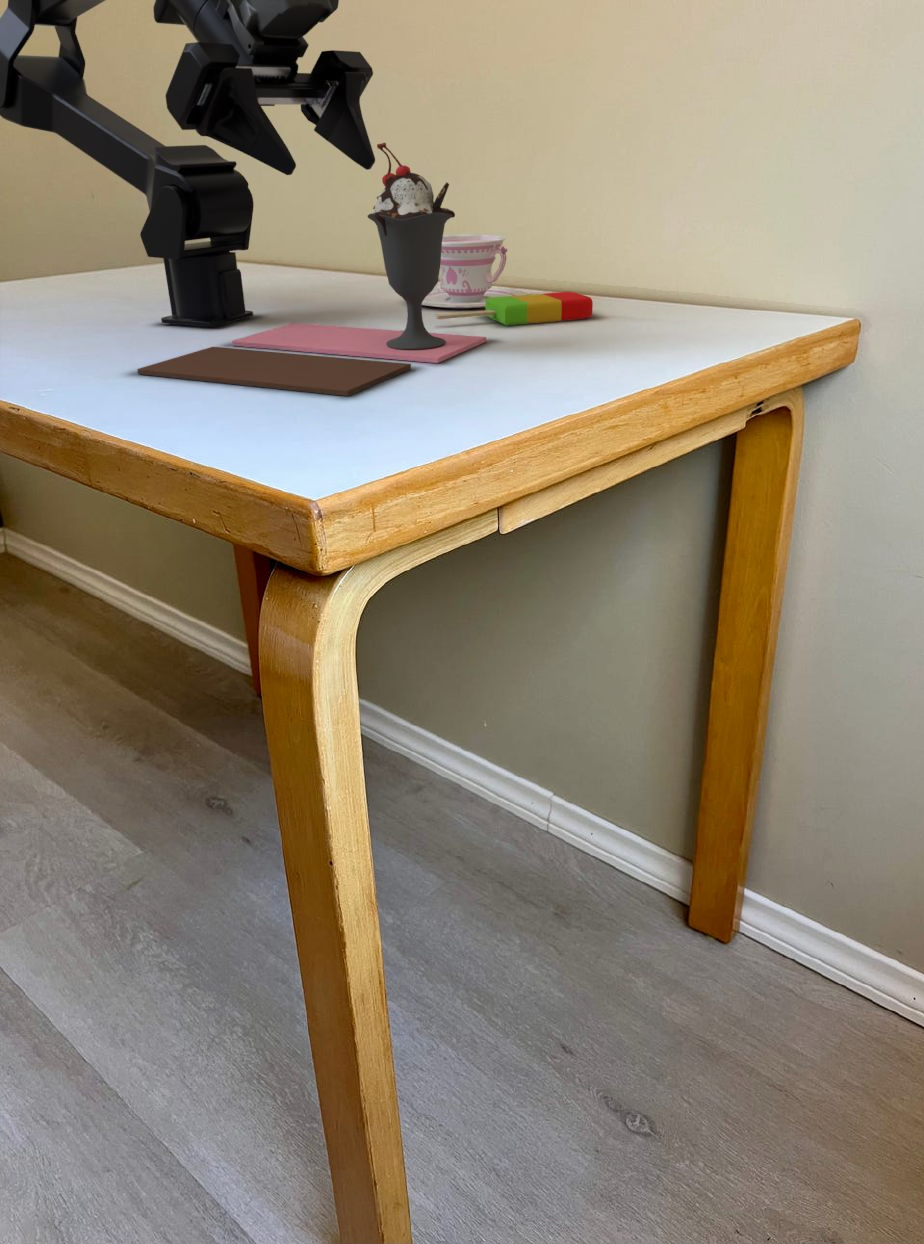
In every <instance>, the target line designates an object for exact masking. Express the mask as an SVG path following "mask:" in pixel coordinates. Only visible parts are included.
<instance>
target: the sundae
mask: <svg viewBox="0 0 924 1244" xmlns="http://www.w3.org/2000/svg"><path fill="white" fill-rule="evenodd" d="M376 147H377V149H378V150H380V151H381V152H383V154H384V155H385V156H386V158H387V160H388V169H387V173H386V174H384V175H383V176H382V178H381V182H382V184H383V186H384V188H383V189H382V190H381V192H380V193H379V194H377V196H376V200H375V203H374V206H373V207H372V209H373V212H372V213H369V214H368V215H367V218H368V219H369V220H371V221H372V222H374V224H375V225H376V227H377V232H378V237H379V241H380V245H381V246H380V247H381V251H382V252H381V253H382V258H383V264H384V269H385V273H386V276H387V281H388V285H389V286H390V287H391V289H392V290H393V291H394V292H395V293H396V294H397V295H398V296H399V297H401V298H402V299H403V300H404V301H405V303H406V310H407V311H406V312H407V318H406V319H407V320H406V325H405V329H404V330H403V331H404V332H403V333H402V335H401V336H399V337H397V338H394V339H391V340H389V341H387V343H386V345H387V346H388V347H390V348H393V349H399V350H425V349H432V348H438V347H441V346H443V345H444V344H445V343H446V341H445V340H444V339H442V338H438V337H434V336H432V335H430V334H429V333H430V332H429V331H428V330H427V328H426V327H425V324H424V320H423V319H424V318H423V305H422V302H423V300H424V299H425V297H426V296H427V295H428V294H429V293H430V292H431V291H432V290H433V289H435V287H436V286H437V285H438V282H439V278H440V277H439V276H440V262H441V249H442V238H443V235H444V232H445V226H446V223H447V221H449V220H450V219H452V218H453V219H454V218H455V217H456V214H455V211H453V210H451V209H449V208H445V207H442V204H443V202H444V199H445V196H446V194H447V192H448V190H449V186H450V183H449V182H445V184H444V185H443V186H442V188H441V189H440V190H439V192H438V194H437V195H436V197H435V198H434V196H435V195H434V191H433V187H432V184H431V183H430V182H429V181H428V180H427V179H426V178H425V177H424V176H422V175H420V174H418V173H414V172H411V168H410V167H409V166H407V165H402V164H401V162H400V161H399V160H398V158H397V157H396V156H395V154H393V152H392V151H391V150H390V149H389V148H388V146H387V143H386V142H382V143H378V144H376ZM384 149H385V150H386V151H385V150H384ZM387 151H388V153H389V154H390V155H391V157H392V158H393V159H394V160H395V162H396V163H397V165H398V167H397V168H396V170H395V173H393V172H391V171H392V161H391V157H390V156H389V154H388V153H387Z"/></svg>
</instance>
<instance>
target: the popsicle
mask: <svg viewBox="0 0 924 1244" xmlns="http://www.w3.org/2000/svg"><path fill="white" fill-rule="evenodd" d="M593 307H594V303H593V299H592V297H590V296H588V295H585V294H582V293H578V292H575V291H557V292H556V291H555V292H545V293H532V294H525V295H517V296H504V297H491V298H488V299H487V300H486V304H485V310H478V311H463V312H452V313H440V314H435V319H436V320H447V319H458V318H469V317H470V318H471V317H482V316H486V317H487V318H489V319H490V320H494V321H496V322H498V323H500V324H503V325H505V326H516V325H530V324H540V323H541V324H542V323H549V322H550V323H551V322H561V321H562V322H563V321H574V320H584V319H585V320H586V319H589V318H591V317H592V315H593Z"/></svg>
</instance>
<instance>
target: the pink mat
mask: <svg viewBox="0 0 924 1244" xmlns="http://www.w3.org/2000/svg"><path fill="white" fill-rule="evenodd" d="M404 331H405V330H393V329H382V328H366V327H352V326H341V325H340V326H339V325H325V324H324V325H323V324H310V323H297V322H296V323H295V322H292V323H288V324H285V325H281V326H278V327H274V328H270V329H268V330H264V331H261V332H258V333H254V334H251V335H247V336H244V337H240V338H238V339H235V340H232V341H231V344H232V345H231V346H233V347H246V348H254V349H255V348H256V349H269V350H279V351H290V352H303V353H314V354H326V355H340V356H349V357H350V356H351V357H361V358H371V359H373V358H374V359H384V360H395V361H396V360H398V361H409V362H419V363H430V364H431V363H432V364H439V363H441V362H445V361H446V360H448V359H450V358H452V357H455V356H457V355H459V354H462V353H464V352H466V351H468V350H472V349H473V348H475V347H477V346H480V345H482V344H484V343H486V342H487V336H480V335H479V336H477V335H466V334H465V335H463V334H453V333H452V334H450V333H437V332H436V333H435V332H434V333H433V332H428V333H429V334H430V335H432V336H434V337H438V338H442V339H444V340H445V341H446V343H445V344H444V345H443V346H441V347H438V348H432V349H425V350H399V349H393V348H390V347H388V346H387V345H386V343H387V341H389V340H391V339H394V338H397V337H399V336H401V335H402V333H403V332H404Z"/></svg>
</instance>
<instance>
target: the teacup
mask: <svg viewBox="0 0 924 1244" xmlns="http://www.w3.org/2000/svg"><path fill="white" fill-rule="evenodd" d="M505 240H506V237H505V236H503V235H497V234H495V235H494V234H479V233H477V234H476V233H474V234H471V233H469V234H465V233H464V234H463V233H462V234H443V238H442V249H441V262H440V271H439V273H440V285H439V286H440V287H437V288H434V289H433V290H432V291H431V292H430V293H429V294H428V295H427V296H426V297H425V299H424V300H423V302H422V306H428V307H433V308H434V307H435V308H441V309H484V308H485V304H486V300H487V299H488V298H491V297H504V296H517V295H526V293H525V292H524V291H522V290H519V289H516V288H511V287H503V286H493V283H495V282H496V281H497V280H498V279H499V277H500V275H501V274H502V273H503V271H504V269H505V267H506V262H507V254H506V253H507V252H508V248H506V247H504V245H503V244H504V241H505ZM497 254H499V256H500V261H499V264H498V268H497V269H496V271H495V272H494V274H493V275H492V266H493V264H494V262H495V260H496V259H497V256H496V255H497Z"/></svg>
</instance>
